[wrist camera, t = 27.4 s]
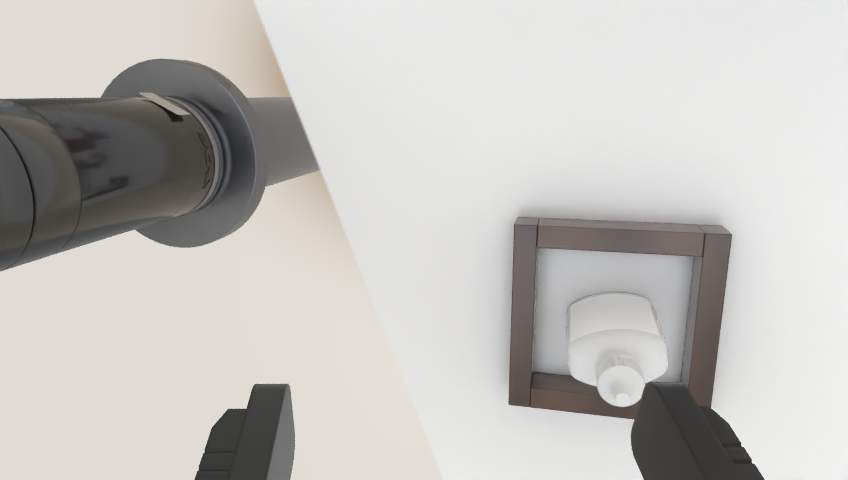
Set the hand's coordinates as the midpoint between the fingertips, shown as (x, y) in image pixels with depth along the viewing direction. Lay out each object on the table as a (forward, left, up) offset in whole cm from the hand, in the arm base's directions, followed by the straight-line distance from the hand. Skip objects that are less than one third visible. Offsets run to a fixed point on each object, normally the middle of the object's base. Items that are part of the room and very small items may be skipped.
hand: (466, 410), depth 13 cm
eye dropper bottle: (+5, -8, -29) cm, 30 cm away
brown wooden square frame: (+5, -8, -29) cm, 30 cm away
